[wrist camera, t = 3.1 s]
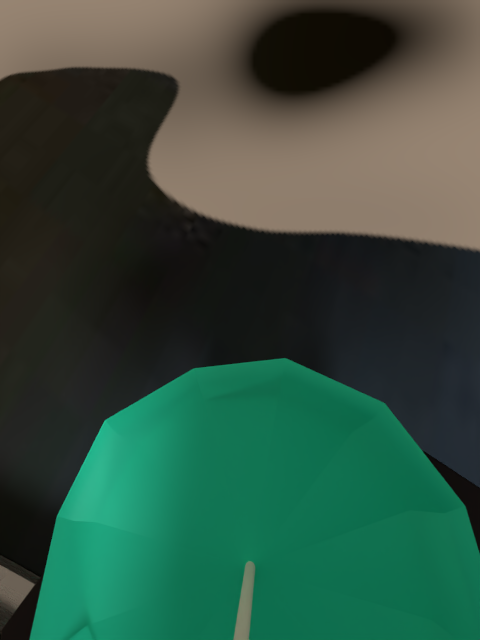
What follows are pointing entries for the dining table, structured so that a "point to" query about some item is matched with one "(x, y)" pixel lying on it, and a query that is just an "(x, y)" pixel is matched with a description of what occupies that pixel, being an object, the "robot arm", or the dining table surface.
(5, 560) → the white tray
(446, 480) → the robot arm
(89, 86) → the dining table surface
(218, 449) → the candle
